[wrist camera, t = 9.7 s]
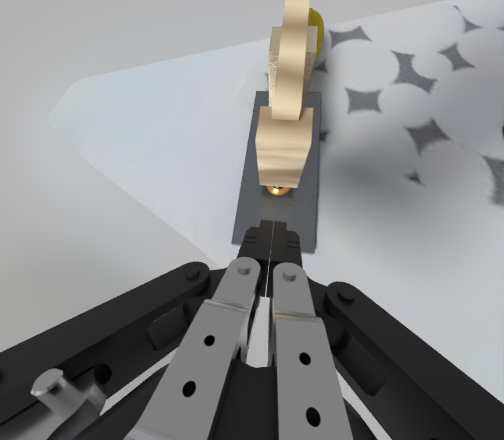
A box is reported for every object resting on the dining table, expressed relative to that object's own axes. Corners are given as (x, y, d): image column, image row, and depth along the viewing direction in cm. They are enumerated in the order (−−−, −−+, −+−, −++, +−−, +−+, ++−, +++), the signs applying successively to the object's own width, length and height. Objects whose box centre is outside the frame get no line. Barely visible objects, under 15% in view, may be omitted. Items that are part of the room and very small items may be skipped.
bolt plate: (312, 254, 26) (346, 236, 14) (233, 244, 27) (206, 221, 16) (319, 98, 33) (346, 4, 22) (256, 97, 34) (250, 7, 23)
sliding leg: (295, 192, 27) (316, 126, 15) (260, 189, 27) (253, 124, 16) (304, 83, 32) (324, -27, 20) (274, 83, 33) (277, -24, 21)
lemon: (321, 72, 35) (336, 14, 27) (292, 80, 35) (298, 25, 27) (310, 52, 36) (321, -7, 29) (282, 60, 37) (286, 3, 29)
